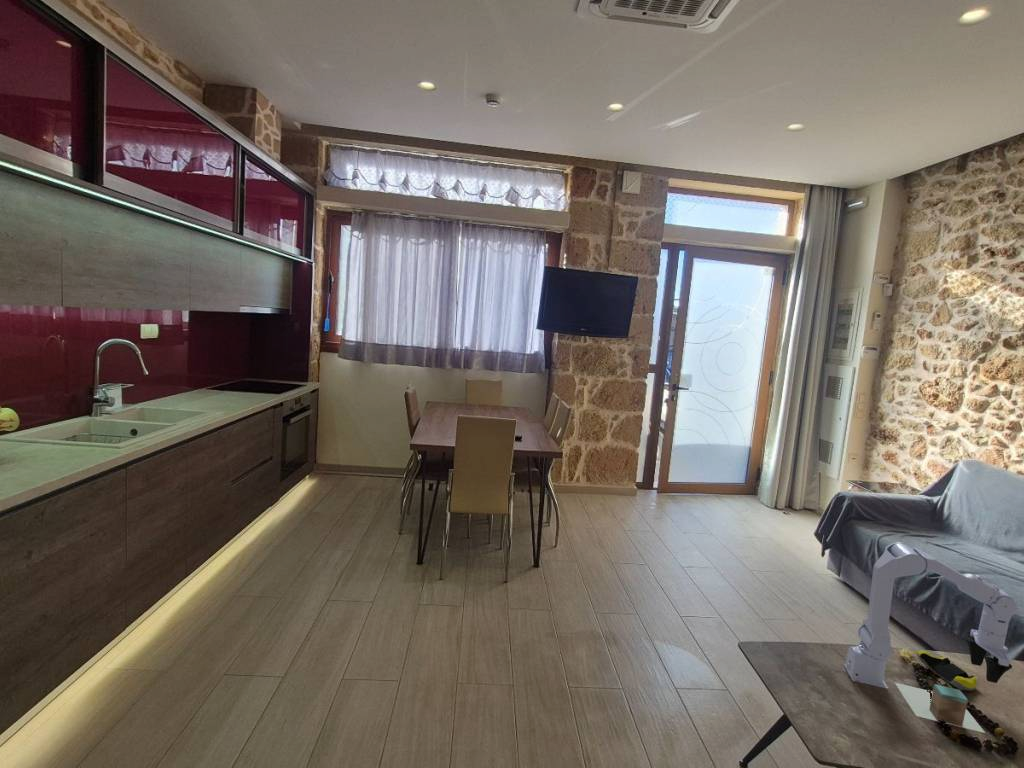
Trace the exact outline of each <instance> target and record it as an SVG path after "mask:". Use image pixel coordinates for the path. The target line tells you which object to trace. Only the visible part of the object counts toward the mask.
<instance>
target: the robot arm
mask: <svg viewBox="0 0 1024 768" xmlns="http://www.w3.org/2000/svg"><path fill="white" fill-rule="evenodd" d="M931 572H933V573H935V574H937V575H939V576H941V577H943V578H945V579H947V580H949V581H950V582H953V583H955V584H956V586H957V589H958V590H959V591H960V592H962V593H964V594H965V595H967V596H970V597H971V598H973V599H975V600H976V601H978V602H980V603H982V604H983V607H982V613H981V616H980V619H979V620H980V622H979V626H978V630H977V629H973V628H972V629H970V634H969V635H970V636H971V637H965V640H966V642H967V645H968V649H969V656H970V662H971V663H970V664H971V665H975V666H979V667H981V666H982V665H983V662H984V661H985V664H986V673H985V677H986V680H987V682H989V683H994V684H997V683H998V682H999V681H1000V679H1001V677H1002V676H1003V675H1004V674H1005V673H1006V672H1008V671H1009V670H1012V668H1013V665H1012V664H1011V663H1010V662H1011V660H1010V659H1009V658H1008V655H1007V653H1006V652H1008V651H1009V649H1008V647H1007V646H1006V645H1005V642H1006V638H1007V634H1008V629H1009V624H1010V621H1011V619H1012V616H1014V615H1015V614H1017V613H1018V611H1019V608H1018V605H1017V604H1018V603H1017V602H1016V601H1015V599H1014V598H1013V597H1011V596H1010V595H1009V594H1008V593H1006V592H1005V591H1004V590H1002V589H1001V588H1000V587H998V586H997V585H995V584H993V585H992V584H990V583H988V582H986V581H984V580H983V579H984V578H982V576H980V575H978V574H971V573H961V572H960V571H957V570H956V569H954V568H953V567H950V566H949V565H947V564H945V563H944V562H942V561H940V560H939V559H938V558H936V557H934V556H932V555H930V554H929V553H927V552H924V551H923V550H920V549H919V548H917V547H914V546H912V547H911V545H909V544H908V543H906V542H904V541H903V542H902V541H896V542H893V543H891V544H889V545H886V546H885V549H884V552H883V553H882V554H881V556H880V557H879V558H878V559H877V561H876V562H875V563H874V564H873V569H872V579H871V584H870V585H871V587H870V592H869V593H870V594H869V602H868V611H867V618H864V619H862V623H861V625H860V627H858V630H857V634H858V637H859V639H860V642H859V645H858V646H852V645H851V646H849V647H848V649H847V653H846V659H845V663H844V667H845V670H846V671H847V674H848V675H849V677H850V679H851V680H852V682H853V683H855V682H858V683H862V684H866V685H871V686H874V687H879V688H882V689H883V688H884V689H889V686H888V685H887V684H886V682H885V681H884V677H885V671H886V665H887V662H888V661H887V660H888V659H890V658H891V657H892V655H893V653H894V649H893V647H892V645H891V638H892V637H891V634H890V629H889V623H890V616H891V615H890V614H891V607H892V600H893V592H894V584H895V579H897V578H902V577H903V578H905V577H909V576H911V577H912V576H916V575H920V574H922V573H924V574H929V573H931ZM987 653H988V654H991V655H992V656H993V657H991V656H986V655H987Z"/></svg>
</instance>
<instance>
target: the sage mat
mask: <svg viewBox="0 0 1024 768" xmlns="http://www.w3.org/2000/svg"><path fill="white" fill-rule="evenodd" d="M894 685H896V687H897V689H898V690H899V692H900V693H901V695H902V697H903V698H904V700H905V701H906V703H907V704H908V706H909V708H910V709H911V710H912V712H913V713H914V715H915V716H916V717H918V718H923V719H926V720H930V721H934V722H938V723H939V721H938V720H936V718H935V717H934V715H933V714H932V713H931V711H930V710H929V709H930V704H931V703H930V702H931V701H930V700H931V699H930V693H929V692H927V690H928V689H924V688H919V687H914V686H911V685H906V684H902V683H898V682H894ZM930 691H931V693H932V694H933V690H930ZM945 724H947V725H951V726H955V727H959V728H963V729H967V730H970V731H974V732H979V733H983V734H986V732H985V730H984V729H983V728H982V726H980V724H979V723H978V722H977V720H976V719H975V718H974V716H972V714H971V713H970V711H968V709H967V708H966V711H965V716H964V721H963V726H960V725H955V724H951V723H947V722H946V723H945Z"/></svg>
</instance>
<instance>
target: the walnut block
mask: <svg viewBox="0 0 1024 768" xmlns="http://www.w3.org/2000/svg"><path fill="white" fill-rule="evenodd" d="M933 684H934V683H933ZM932 692H933V694H932V699H931V704H930V709H929V710H930V711H931V713H932V714H933V715H934V717H935V718H936V720H942V719H943V720H944V721H945V722H947V723H951V724H955V725H960V726H963V721H964V716H965V711H966V709H967V708H968V707H967V706H968V701H969V700H968V698H967V697H966V696H965V694H964V693H963V692H962V690H960V689H958V688H953V687H948V686H944V685H940V684H934V686H933V689H932Z"/></svg>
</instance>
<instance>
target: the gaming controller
mask: <svg viewBox="0 0 1024 768" xmlns="http://www.w3.org/2000/svg"><path fill="white" fill-rule="evenodd" d="M916 655H917V657H918V659H919V661H921V663H922V664H923V665H925V666H926V667H928V668H929V669H930V670H931V672H934V674H935V675H936V676H938V677H940V678H942V679H943V680H944V681H946V682H947V683H948V684H951V685H952V686H954V687H955V689H958V690H960V691H971V692H972V691H974V690H976V687H977V682H978V681H977V680H978V677H977V676H975V675H970V676H969V674H968V672H966V671H965V670H963V669H962V668H961V667H959V666H958V665H956V664H955V663H953V662H952V663H951V659H950V657H949V658H948V657H946V656H942V657H936V656H934V655H932V654H930V653H929V652H928V651H926V650H925V651H924V650H920V649H919V651H917V653H916Z"/></svg>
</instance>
